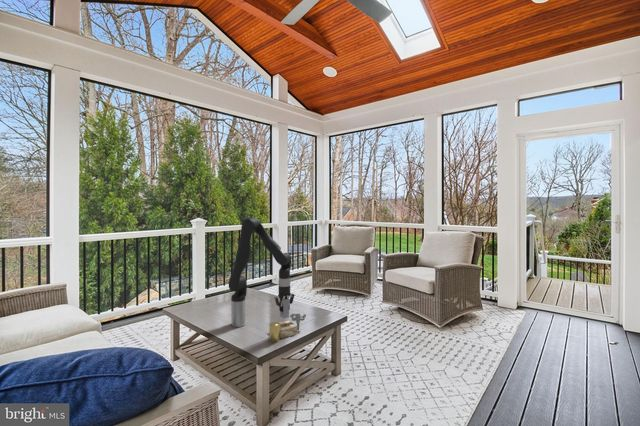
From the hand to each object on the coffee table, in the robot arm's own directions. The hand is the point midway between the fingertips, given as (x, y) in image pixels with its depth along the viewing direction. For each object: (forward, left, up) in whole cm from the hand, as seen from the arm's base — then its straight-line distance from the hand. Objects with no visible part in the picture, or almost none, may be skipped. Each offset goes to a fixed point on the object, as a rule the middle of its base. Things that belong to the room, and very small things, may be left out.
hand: (284, 311), depth 203 cm
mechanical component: (0, +10, -14) cm, 18 cm away
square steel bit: (0, 0, -4) cm, 4 cm away
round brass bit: (+6, -10, -14) cm, 18 cm away
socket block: (0, 0, -14) cm, 14 cm away
